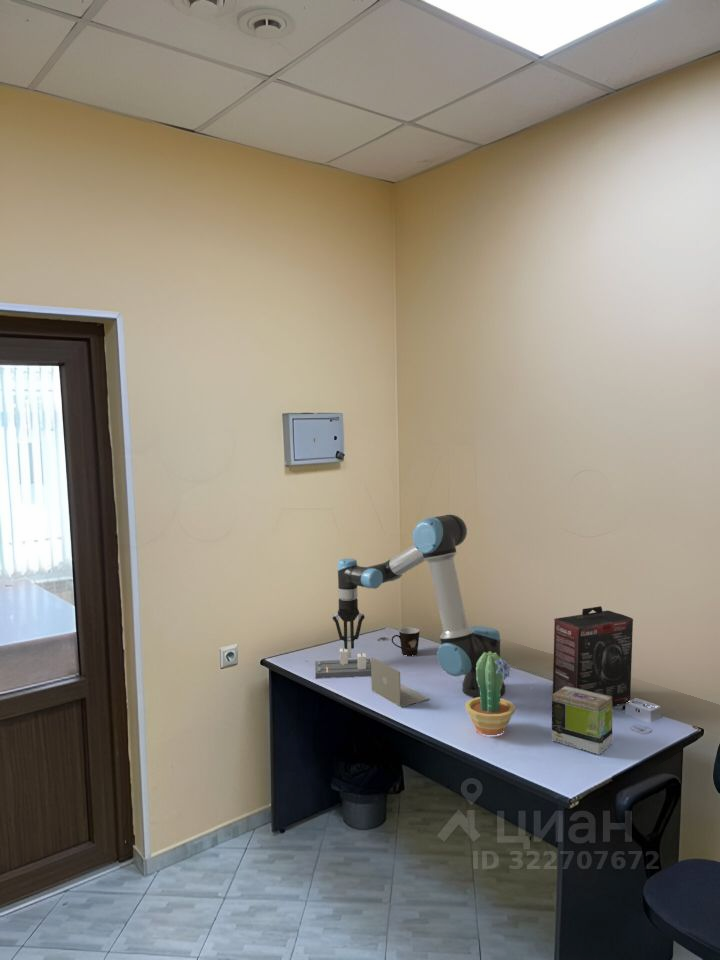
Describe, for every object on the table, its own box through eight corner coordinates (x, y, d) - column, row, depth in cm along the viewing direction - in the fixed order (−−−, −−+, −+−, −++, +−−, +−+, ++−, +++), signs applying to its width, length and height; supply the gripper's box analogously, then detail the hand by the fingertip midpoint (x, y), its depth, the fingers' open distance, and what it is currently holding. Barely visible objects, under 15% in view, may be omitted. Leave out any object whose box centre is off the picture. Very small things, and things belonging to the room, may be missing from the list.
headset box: (605, 690, 248) (606, 599, 246) (633, 702, 237) (634, 607, 234) (551, 703, 238) (551, 608, 235) (577, 717, 226) (578, 617, 224)
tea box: (613, 744, 207) (613, 695, 206) (599, 756, 199) (599, 706, 198) (565, 730, 217) (565, 684, 216) (550, 741, 209) (550, 693, 208)
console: (373, 675, 267) (373, 669, 267) (315, 678, 266) (315, 672, 265) (370, 663, 281) (369, 657, 281) (315, 665, 279) (315, 659, 279)
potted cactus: (478, 745, 208) (477, 663, 206) (456, 724, 223) (456, 647, 221) (524, 737, 212) (524, 657, 210) (500, 717, 227) (500, 642, 225)
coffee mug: (420, 650, 296) (419, 627, 295) (419, 657, 287) (419, 633, 286) (392, 650, 297) (392, 627, 296) (391, 657, 288) (391, 633, 287)
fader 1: (347, 663, 275) (347, 651, 274) (340, 664, 274) (339, 651, 274) (347, 660, 279) (347, 648, 278) (339, 660, 278) (339, 648, 278)
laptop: (429, 700, 243) (429, 664, 242) (399, 709, 236) (399, 671, 235) (399, 684, 258) (399, 650, 257) (371, 692, 251) (370, 657, 250)
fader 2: (366, 669, 268) (365, 656, 268) (358, 669, 268) (358, 656, 268) (365, 665, 272) (365, 653, 272) (357, 666, 272) (357, 653, 272)
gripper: (363, 595, 279) (364, 652, 281) (331, 596, 278) (332, 654, 280) (365, 599, 271) (366, 659, 273) (331, 601, 271) (333, 660, 272)
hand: (349, 656), depth 277 cm, fingers closed
